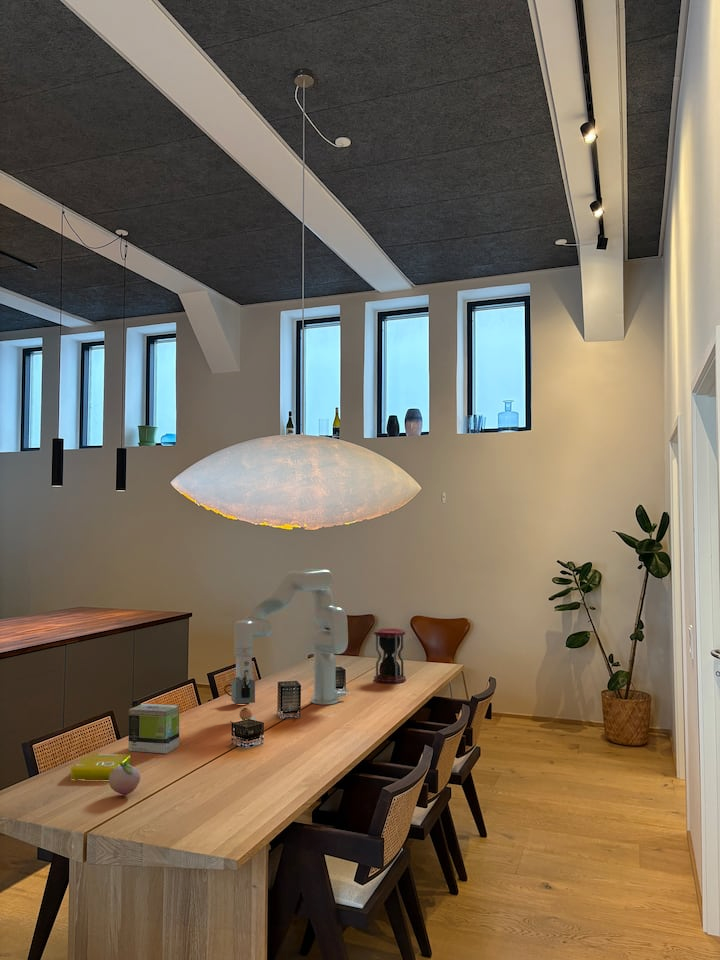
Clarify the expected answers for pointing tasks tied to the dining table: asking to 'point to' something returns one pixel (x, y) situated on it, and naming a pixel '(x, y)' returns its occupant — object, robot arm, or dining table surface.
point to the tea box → (154, 728)
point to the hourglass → (389, 656)
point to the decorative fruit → (124, 778)
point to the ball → (245, 713)
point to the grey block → (237, 692)
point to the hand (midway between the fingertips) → (243, 695)
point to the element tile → (97, 766)
